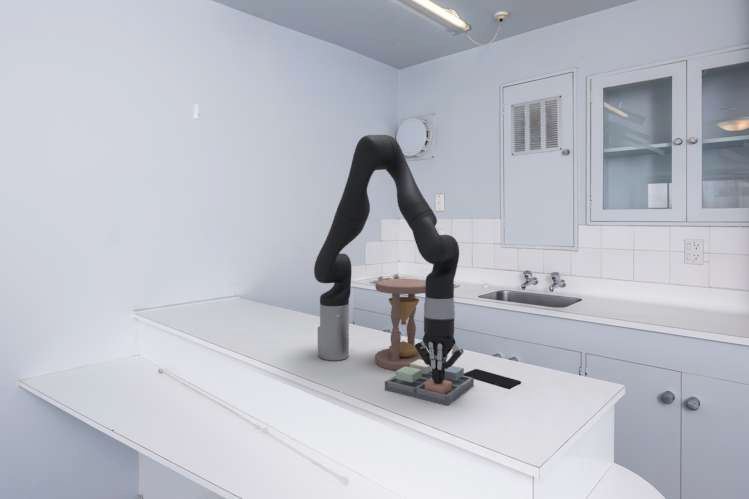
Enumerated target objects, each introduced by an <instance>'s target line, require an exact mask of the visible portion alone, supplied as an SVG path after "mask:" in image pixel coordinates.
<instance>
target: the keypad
mask: <svg viewBox="0 0 749 499" xmlns="http://www.w3.org/2000/svg"><path fill="white" fill-rule="evenodd" d="M395 376H396V375H394V376H392V377H391V378H388V379H387V380H385V381H384V390H385V391H389V392H392V393H397V394H400V395H405V396H409V397H413V398H415V399H419V400H425V401H429V402H432V403H434V404H435V403H437V404H441V405H442V406H443V405H445V406H446V407H447V406H449V405H451V404H452V403H453V402H454V401H456V400H457V399H459V398H460V397H461V396H462V395H463V394H465V393H466V392H467V391H469V390H470V389H472V387H474V385H475V384H474V383H475V382H474V380H475V379H474V378H472V377H467V376H462V377H461V378H459V379H458V380H456V381H454V380H450V379H444V380H447V381H451V390H450V391H448V392H447V393H445V394H440V393H436V392H432V391H428V390H425V383H426V382H428V381H429V380H431V379H432V371H431V372H429V373H428V374H422V377H421V378H419V379H417V380H416V381H414V382H407V381H403V380H399V379H395Z"/></svg>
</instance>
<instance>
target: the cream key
mask: <svg viewBox="0 0 749 499" xmlns="http://www.w3.org/2000/svg"><path fill="white" fill-rule="evenodd" d="M410 367H411V368H416V369H421V370H422V374H428V373H429V372H431V371H432V367H431V366H430V365H426V364H425V362H424V361H423V360H420V359H418V360H416V361H414V362H413V363H411V364H410Z"/></svg>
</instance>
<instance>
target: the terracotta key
mask: <svg viewBox="0 0 749 499" xmlns="http://www.w3.org/2000/svg"><path fill="white" fill-rule="evenodd" d="M425 390H428V391H432V392H436V393H440V394H445V393H447V392H448V391H450V390H451V381H447V380H444V381H443V382H442V383H440V384H436V383H434V381H433V380H432V379H431V380H429V381H428V382H426V383H425Z"/></svg>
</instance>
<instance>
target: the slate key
mask: <svg viewBox="0 0 749 499" xmlns="http://www.w3.org/2000/svg"><path fill="white" fill-rule="evenodd" d="M464 370H465V369H464V367H461V366H455V365H452V366H451V367H449V368H447V369H445V379H450V380H454V381H456V380H458V379H459V378H461V377H462V376H464V373H465V372H464Z"/></svg>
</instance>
